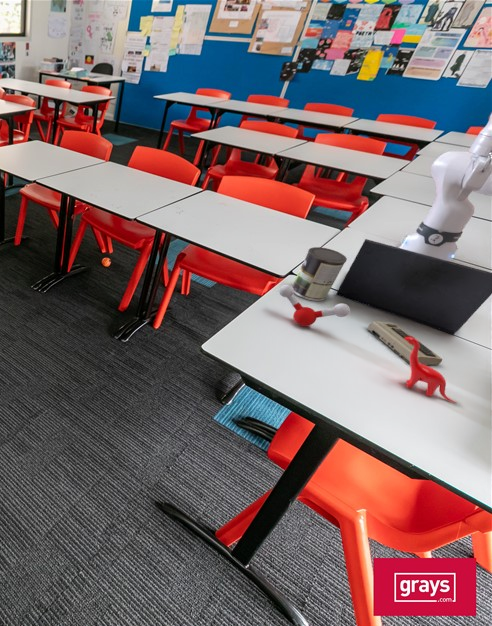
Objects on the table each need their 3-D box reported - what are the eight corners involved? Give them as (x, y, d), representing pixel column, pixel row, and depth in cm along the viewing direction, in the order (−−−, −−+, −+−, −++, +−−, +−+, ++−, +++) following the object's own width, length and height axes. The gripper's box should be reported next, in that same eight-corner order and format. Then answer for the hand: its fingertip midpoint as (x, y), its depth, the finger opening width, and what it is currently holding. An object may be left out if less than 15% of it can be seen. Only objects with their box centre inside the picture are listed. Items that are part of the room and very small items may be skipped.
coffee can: (286, 292, 138) (304, 253, 130) (296, 281, 144) (314, 244, 136) (321, 305, 132) (342, 265, 124) (330, 293, 138) (350, 255, 130)
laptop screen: (365, 238, 121) (364, 240, 121) (506, 276, 105) (506, 278, 104) (338, 290, 136) (337, 291, 136) (457, 330, 120) (456, 331, 120)
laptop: (349, 273, 150) (351, 268, 149) (457, 307, 134) (461, 302, 133) (335, 294, 138) (338, 289, 136) (453, 334, 121) (457, 329, 120)
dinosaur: (456, 408, 97) (492, 368, 90) (378, 378, 104) (405, 339, 97) (455, 399, 99) (490, 359, 92) (379, 370, 107) (406, 331, 100)
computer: (439, 365, 109) (447, 355, 107) (410, 365, 109) (418, 356, 107) (391, 329, 122) (398, 320, 120) (366, 329, 122) (371, 320, 120)
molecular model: (337, 333, 119) (354, 304, 114) (332, 341, 116) (349, 312, 110) (272, 308, 129) (284, 280, 124) (266, 315, 126) (279, 286, 120)
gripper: (511, 156, 103) (474, 211, 111) (509, 144, 115) (476, 194, 123) (477, 151, 106) (443, 204, 114) (478, 140, 119) (448, 188, 127)
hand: (460, 199), depth 119 cm, fingers closed
